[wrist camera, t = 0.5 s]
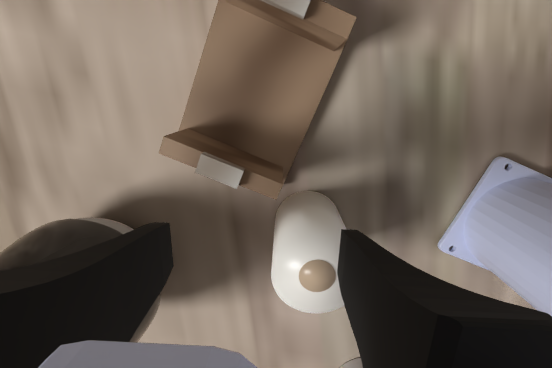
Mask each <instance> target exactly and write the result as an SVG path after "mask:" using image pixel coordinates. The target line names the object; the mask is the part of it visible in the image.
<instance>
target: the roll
mask: <svg viewBox="0 0 552 368" xmlns="http://www.w3.org/2000/svg"><path fill="white" fill-rule="evenodd" d="M341 229H346V227H345V225H344V223H343V220H342V218H341V216H340V214H339V212H338V210H337V208H336V206H335V204H334V203H333V202H332V201H331V200H330V199H329V198H328V197H327V196H325V195H323V194H321V193H318V192H314V191H302V192H298V193H295V194H292V195H291V196H289V197H287V198H286V199H285V200H284V201H283V202H282V203H281V204H280V206H279V208H278V210H277V212H276V216H275V228H274V242H273V256H272V270H271V279H272V284H273V287H274V289H275V291H276V293H277V295H278V296H279V297H280V298H281V299H282V300H283V301H284V302H285V303H286V304H287V305H289V306H290V307H292V308H294V309H297V310H299V311H302V312H307V313H326V312H330V311H334V310H336V309H339V308H341V307H343V306H344V302H343V299H342V296H341V292H340V286H339V281H338V275H337V268H338V258H339V248H340V239H341Z"/></svg>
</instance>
